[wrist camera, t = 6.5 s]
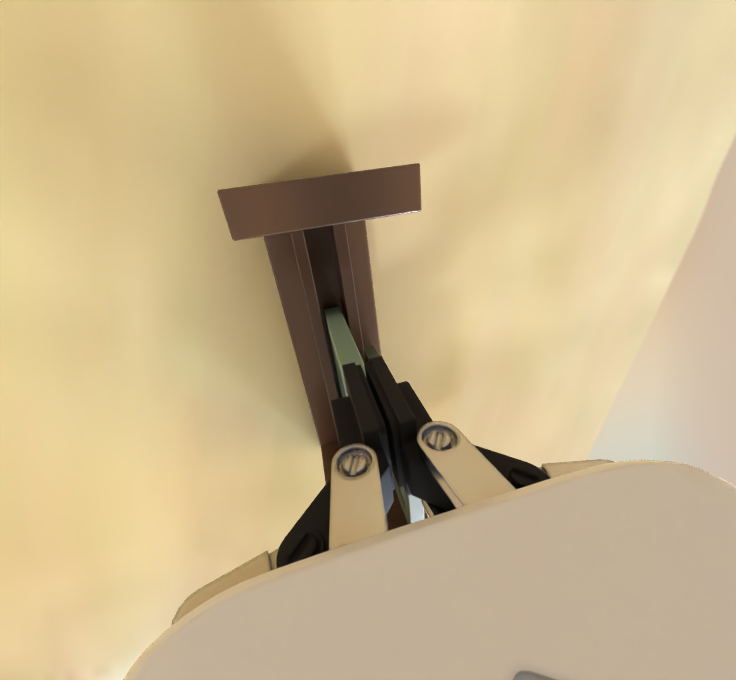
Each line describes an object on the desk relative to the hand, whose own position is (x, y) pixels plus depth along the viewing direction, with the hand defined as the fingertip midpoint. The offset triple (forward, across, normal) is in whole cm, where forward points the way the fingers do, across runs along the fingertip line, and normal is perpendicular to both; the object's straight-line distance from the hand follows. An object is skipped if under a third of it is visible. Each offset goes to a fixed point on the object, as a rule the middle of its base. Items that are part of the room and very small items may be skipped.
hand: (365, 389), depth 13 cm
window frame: (+13, 0, +4) cm, 14 cm away
